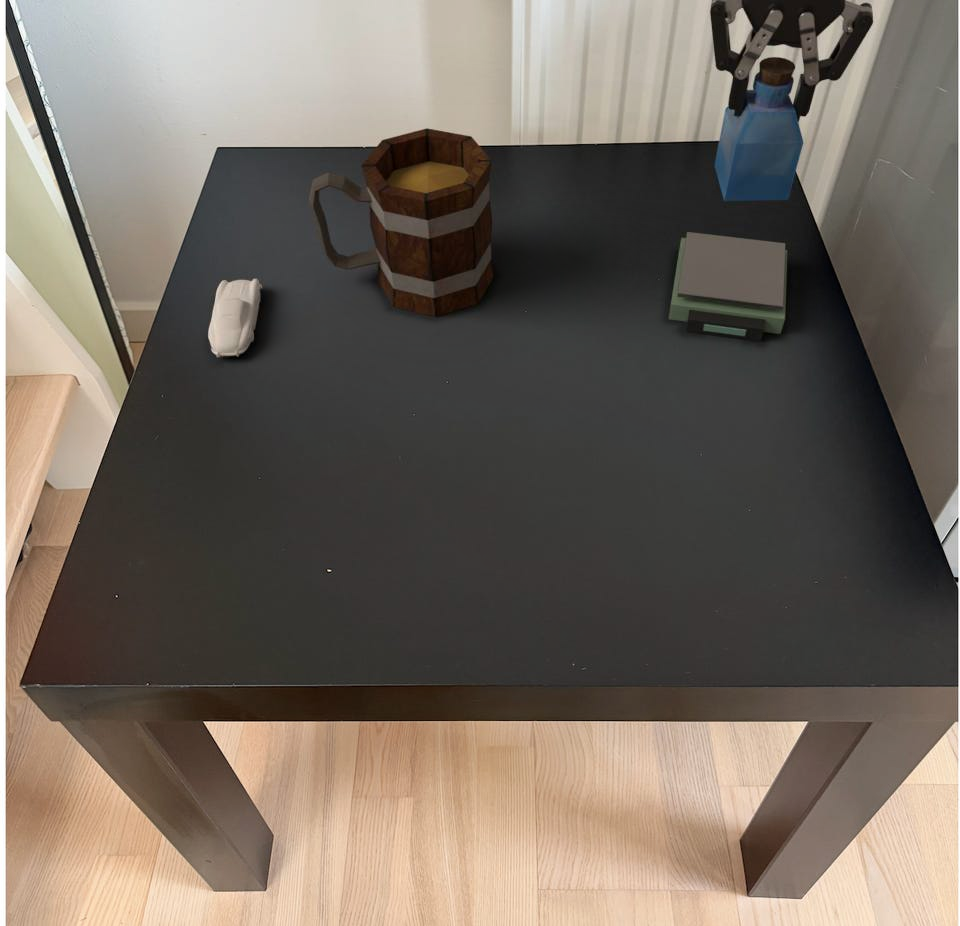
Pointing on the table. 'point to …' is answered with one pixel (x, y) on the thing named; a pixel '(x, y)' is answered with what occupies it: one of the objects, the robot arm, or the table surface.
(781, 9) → the robot arm
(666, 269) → the table surface
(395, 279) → the mug
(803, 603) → the table surface
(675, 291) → the scale
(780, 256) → the pan
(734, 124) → the perfume bottle
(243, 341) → the toy car
